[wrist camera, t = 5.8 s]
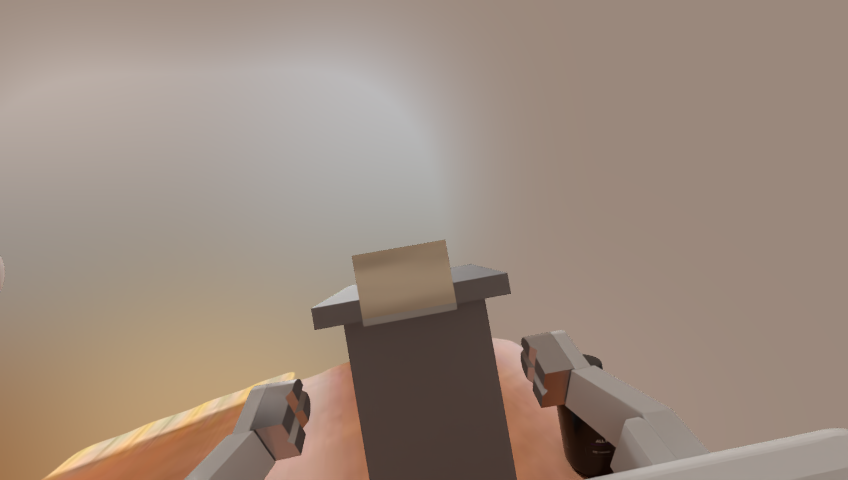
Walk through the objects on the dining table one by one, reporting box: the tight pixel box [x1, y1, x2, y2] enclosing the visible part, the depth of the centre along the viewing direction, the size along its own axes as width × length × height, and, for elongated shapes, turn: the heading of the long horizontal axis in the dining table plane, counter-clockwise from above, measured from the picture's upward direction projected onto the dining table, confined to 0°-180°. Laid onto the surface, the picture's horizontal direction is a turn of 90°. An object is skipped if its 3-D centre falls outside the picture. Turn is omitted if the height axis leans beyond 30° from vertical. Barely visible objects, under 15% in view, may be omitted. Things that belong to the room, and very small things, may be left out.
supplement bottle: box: [557, 354, 616, 478], centre depth 36 cm, size 7×7×12 cm
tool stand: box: [311, 264, 517, 480], centre depth 27 cm, size 13×14×26 cm
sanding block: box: [352, 240, 457, 327], centre depth 23 cm, size 21×4×3 cm, turn 3°
